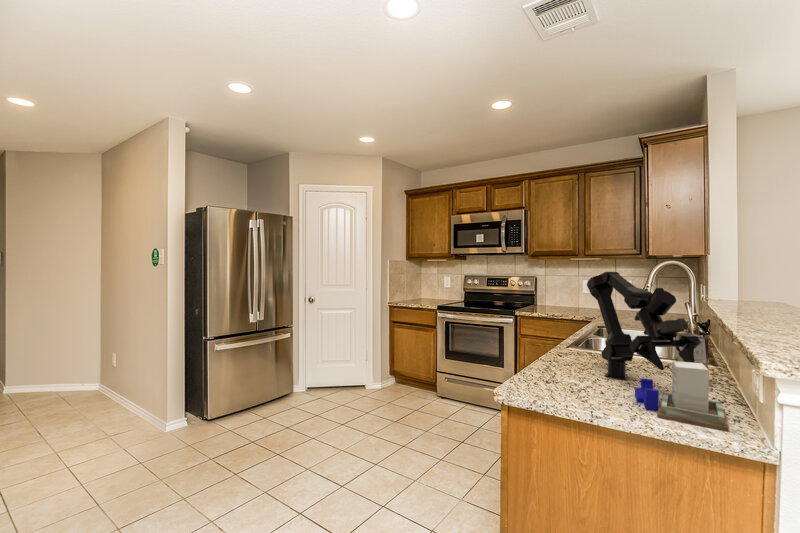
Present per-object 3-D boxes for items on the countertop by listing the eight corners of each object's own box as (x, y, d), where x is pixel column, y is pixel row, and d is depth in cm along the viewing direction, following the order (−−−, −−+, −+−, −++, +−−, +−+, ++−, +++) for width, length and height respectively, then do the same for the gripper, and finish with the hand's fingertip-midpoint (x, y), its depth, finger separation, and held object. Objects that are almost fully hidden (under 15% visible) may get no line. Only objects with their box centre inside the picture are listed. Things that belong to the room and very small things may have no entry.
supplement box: (702, 407, 113) (703, 363, 113) (708, 416, 106) (709, 369, 106) (671, 403, 116) (671, 359, 116) (675, 411, 110) (676, 366, 109)
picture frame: (660, 401, 120) (660, 391, 120) (724, 412, 112) (724, 402, 112) (657, 417, 108) (657, 406, 108) (728, 431, 100) (728, 419, 99)
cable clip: (634, 396, 125) (635, 377, 125) (651, 398, 123) (652, 379, 123) (639, 409, 114) (640, 389, 114) (658, 412, 112) (658, 391, 112)
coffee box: (708, 385, 136) (709, 338, 135) (687, 384, 137) (688, 337, 136) (694, 377, 145) (694, 333, 144) (674, 376, 146) (675, 332, 145)
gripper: (636, 308, 119) (660, 354, 109) (697, 308, 120) (727, 354, 109) (620, 330, 127) (641, 374, 117) (677, 329, 128) (703, 374, 118)
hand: (678, 369), depth 115 cm, fingers open, 9 cm apart
